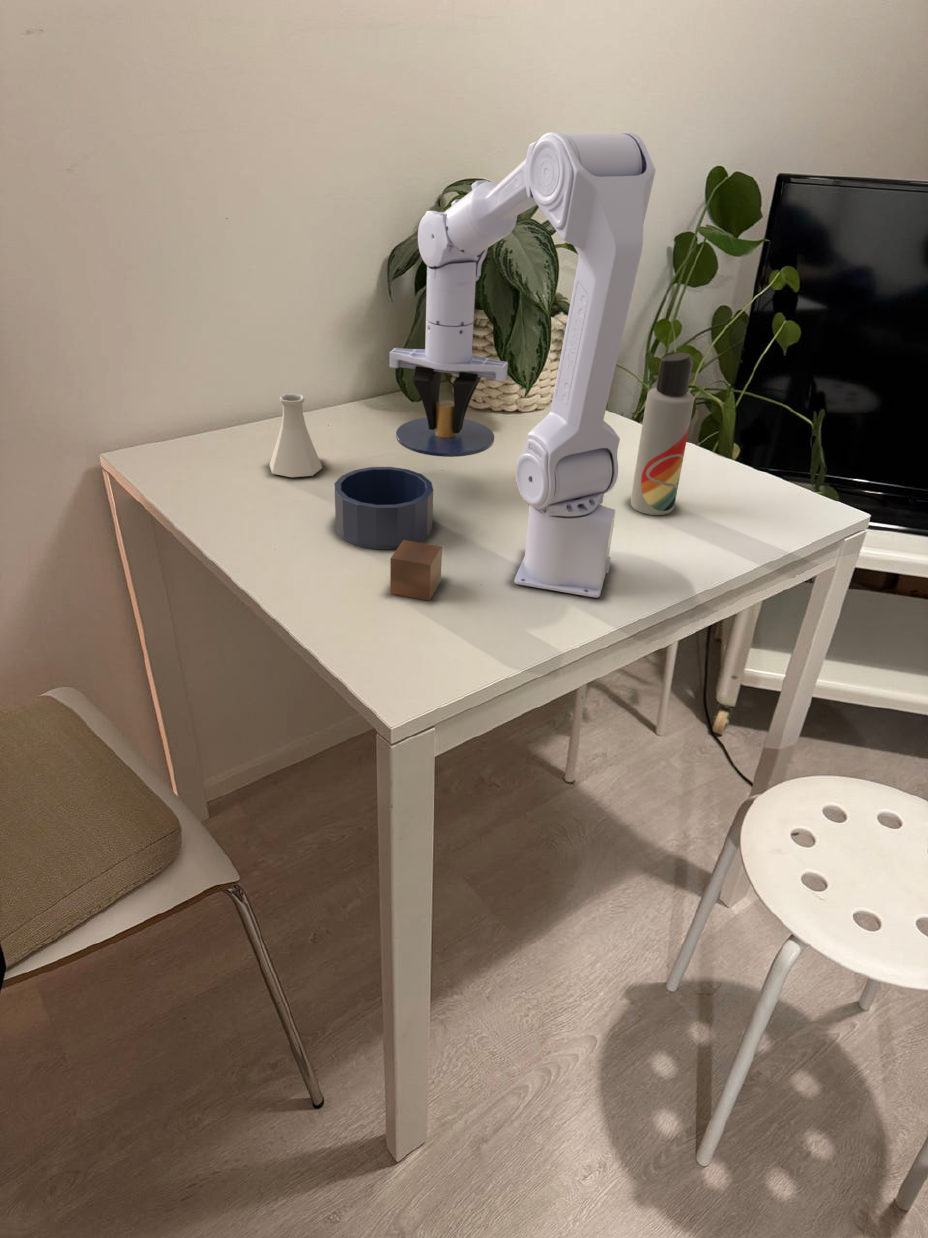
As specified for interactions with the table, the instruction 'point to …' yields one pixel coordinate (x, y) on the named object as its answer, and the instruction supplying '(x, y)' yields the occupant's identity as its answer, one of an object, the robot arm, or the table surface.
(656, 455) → the lotion bottle
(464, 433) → the lid
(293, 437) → the flask
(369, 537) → the tin
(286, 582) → the table surface
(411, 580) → the block
